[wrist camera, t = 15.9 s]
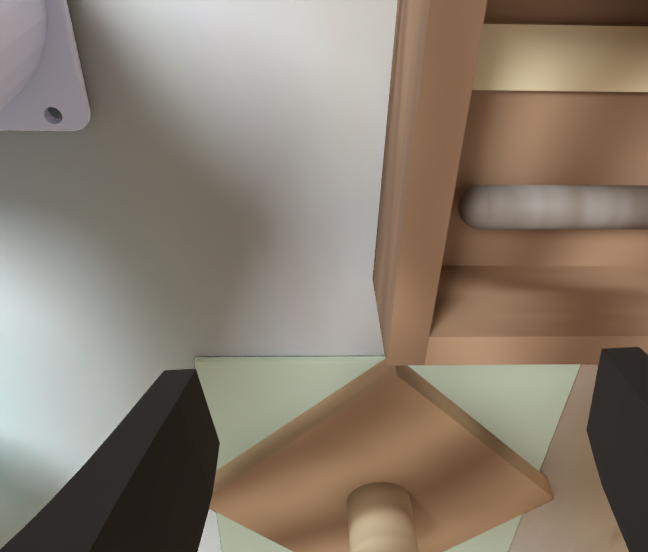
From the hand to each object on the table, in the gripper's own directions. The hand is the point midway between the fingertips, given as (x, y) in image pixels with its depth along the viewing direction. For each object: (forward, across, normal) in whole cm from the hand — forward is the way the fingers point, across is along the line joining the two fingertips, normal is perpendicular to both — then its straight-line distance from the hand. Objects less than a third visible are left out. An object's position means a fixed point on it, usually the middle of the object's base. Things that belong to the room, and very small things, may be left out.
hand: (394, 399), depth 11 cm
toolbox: (+11, -6, 0) cm, 13 cm away
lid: (+11, +1, +17) cm, 20 cm away
